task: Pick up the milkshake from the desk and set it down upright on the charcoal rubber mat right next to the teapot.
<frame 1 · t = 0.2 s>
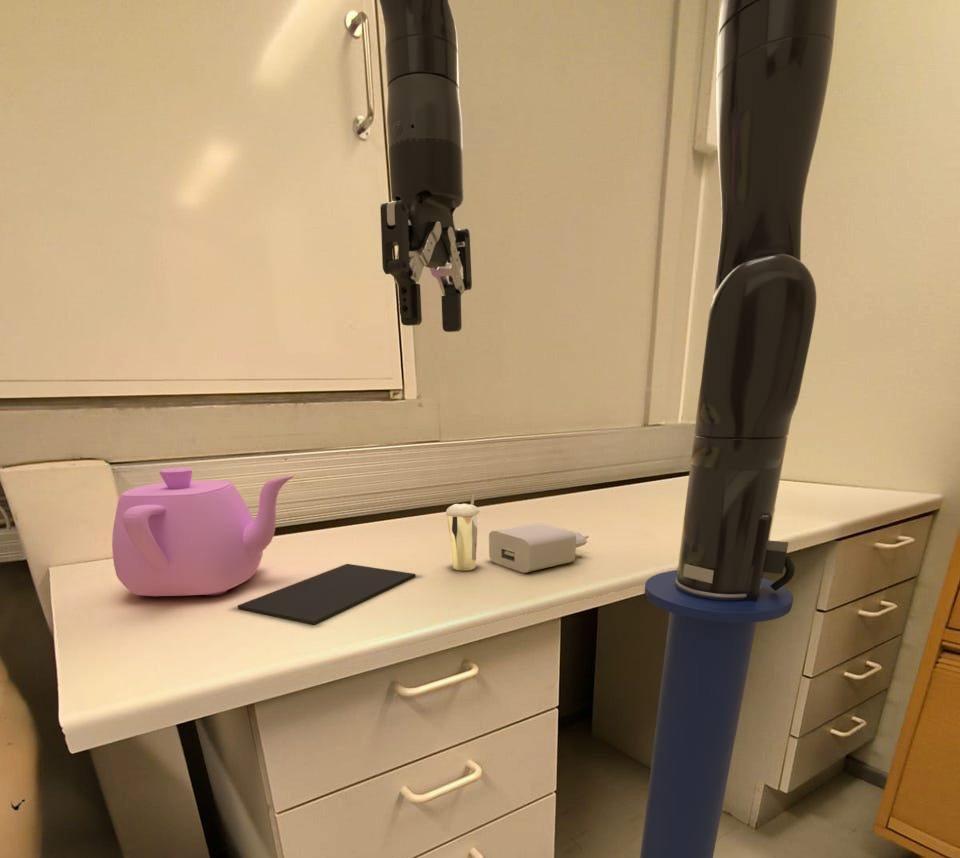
hand: (433, 328, 65), 30 cm above the table, tool pointing down, fingers open, 8 cm apart
teapot: (205, 585, 79), on the table
mat: (333, 591, 75), on the table
milkshake: (465, 568, 84), on the table
charger: (547, 560, 88), on the table
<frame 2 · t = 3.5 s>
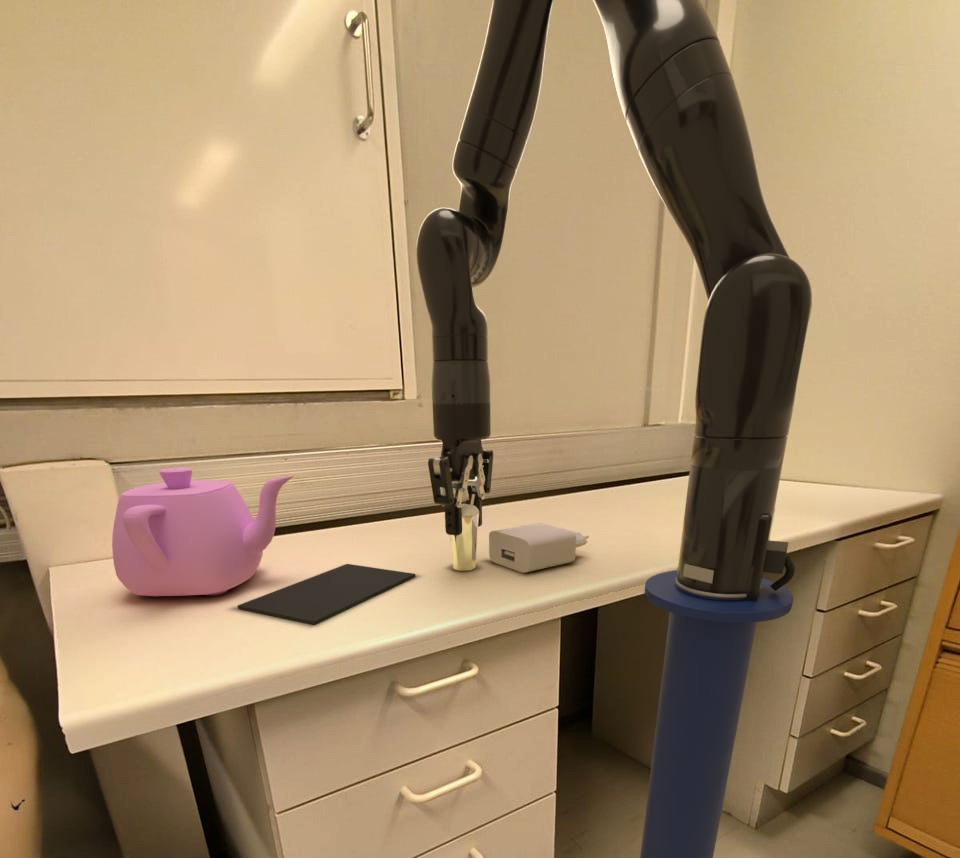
hand: (464, 529, 82), 5 cm above the table, tool pointing down, fingers closed on milkshake, 5 cm apart
milkshake: (465, 568, 84), on the table, touching gripper
everything else where it was.
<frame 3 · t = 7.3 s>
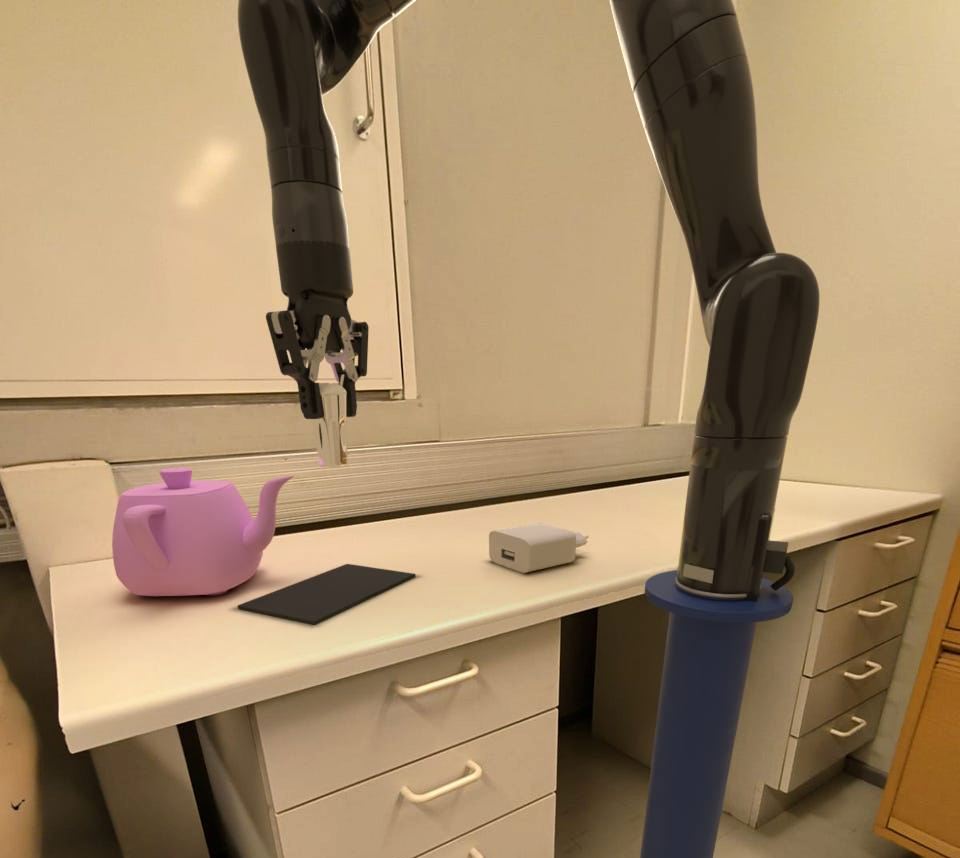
hand: (331, 417, 68), 21 cm above the table, tool pointing down, fingers closed on milkshake, 5 cm apart
milkshake: (336, 467, 70), point 15 cm above the table, touching gripper
everything else where it was.
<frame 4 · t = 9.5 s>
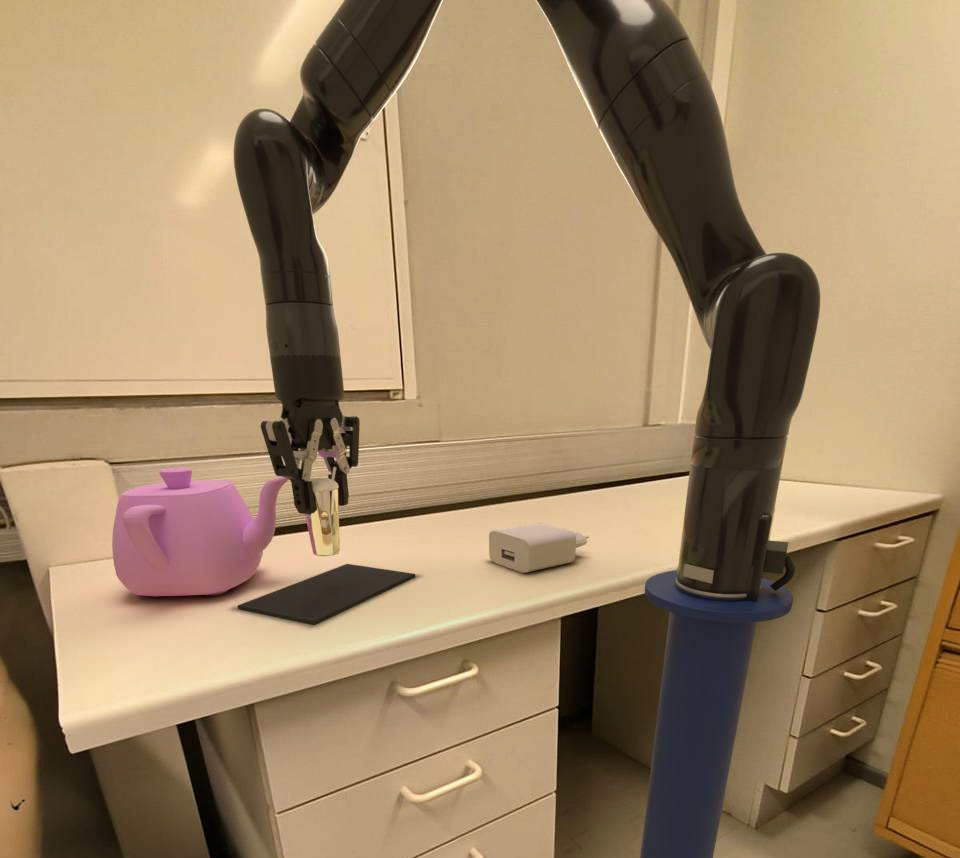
hand: (323, 508, 71), 11 cm above the table, tool pointing down, fingers closed on milkshake, 5 cm apart
milkshake: (329, 553, 73), point 5 cm above the table, touching gripper
everything else where it was.
when the fingers open (6 cm above the table, at t = 11.2 s): milkshake stays where it is, resting on mat.
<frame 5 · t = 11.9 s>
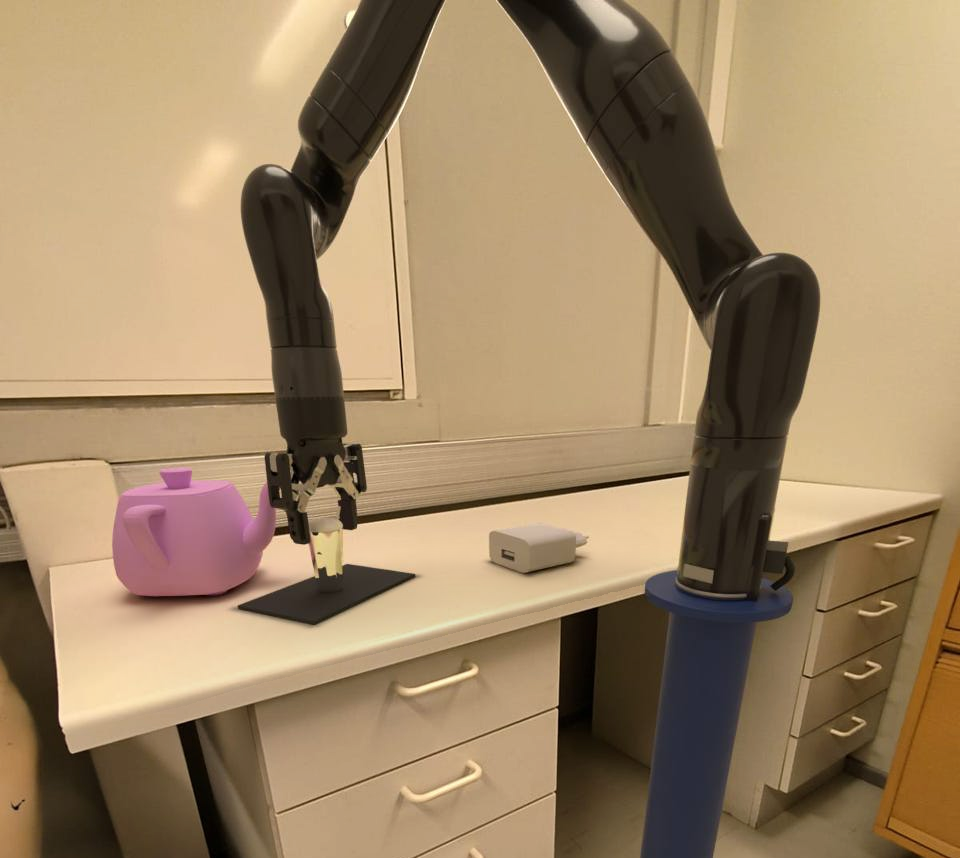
hand: (326, 536, 72), 7 cm above the table, tool pointing down, fingers open, 8 cm apart
milkshake: (333, 589, 75), resting on mat
everything else where it was.
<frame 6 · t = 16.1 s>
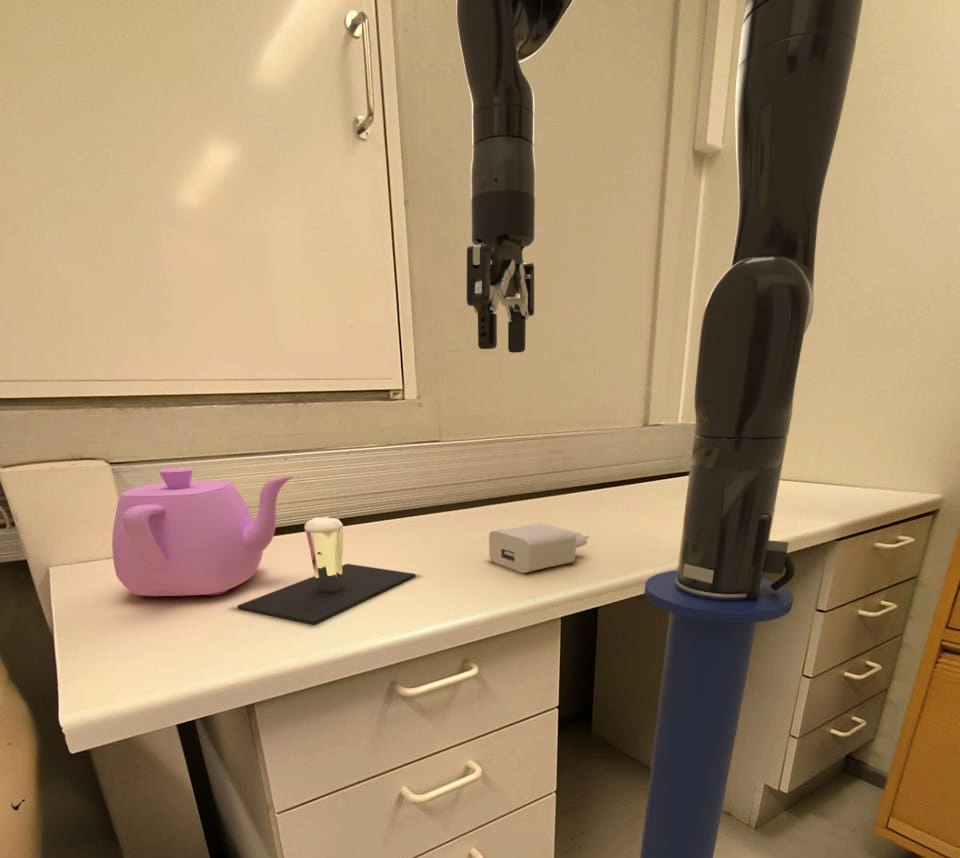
hand: (502, 350, 75), 28 cm above the table, tool pointing down, fingers open, 8 cm apart
nothing on the table moved.
at the end: milkshake inside the target area (0.1 cm from its centre), on the table; milkshake tilted 0°; the gripper is holding nothing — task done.
